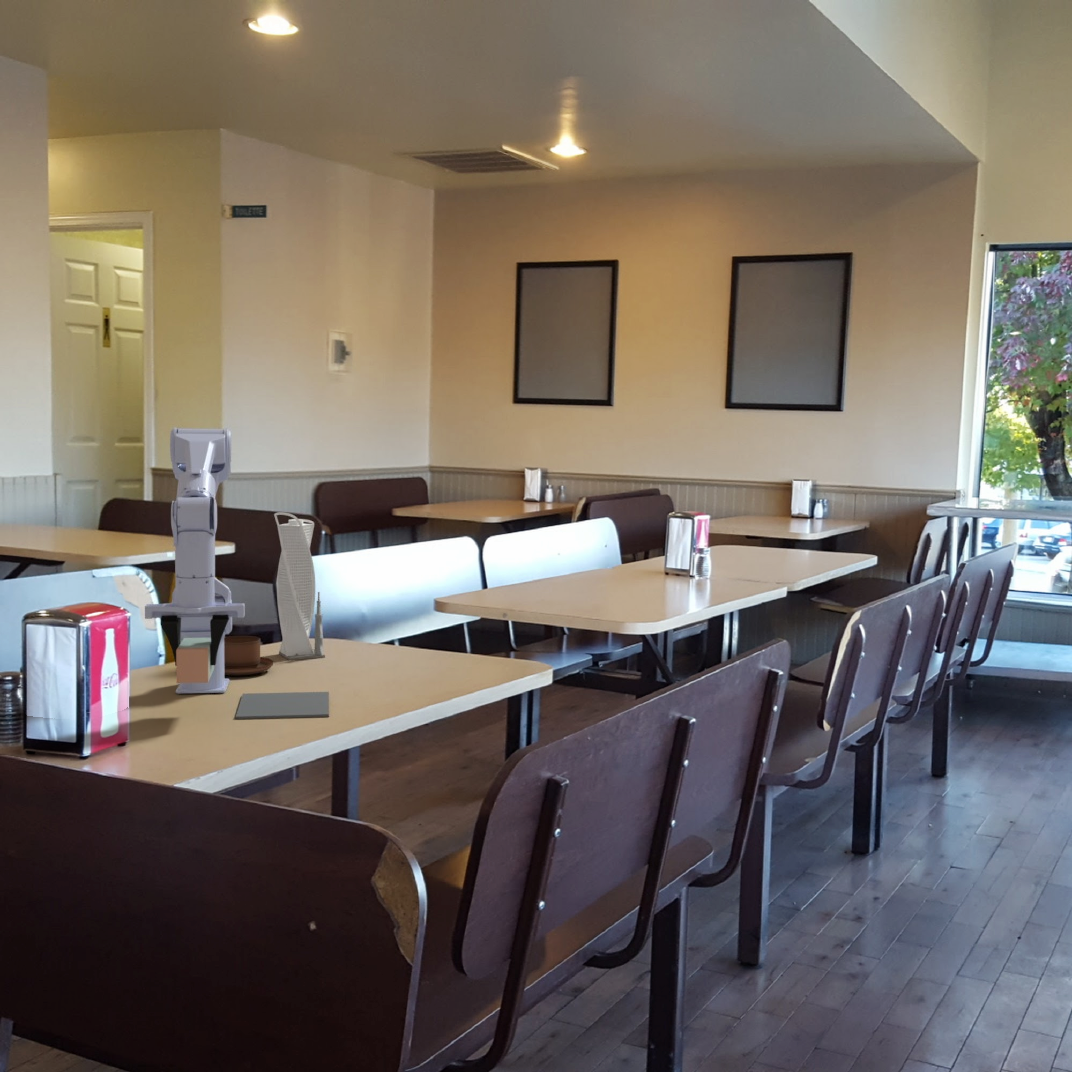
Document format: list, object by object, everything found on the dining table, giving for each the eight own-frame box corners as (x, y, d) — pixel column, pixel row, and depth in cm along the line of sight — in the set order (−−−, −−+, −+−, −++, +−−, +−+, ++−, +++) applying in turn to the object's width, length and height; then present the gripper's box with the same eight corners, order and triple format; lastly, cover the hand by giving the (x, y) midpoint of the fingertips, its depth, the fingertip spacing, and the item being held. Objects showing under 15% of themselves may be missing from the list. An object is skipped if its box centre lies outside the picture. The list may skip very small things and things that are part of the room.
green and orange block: (184, 669, 191) (184, 638, 190) (214, 669, 192) (213, 637, 191) (176, 683, 181) (176, 649, 181) (207, 682, 182) (207, 649, 181)
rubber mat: (242, 695, 202) (242, 693, 202) (328, 694, 204) (328, 691, 204) (235, 719, 186) (235, 716, 186) (328, 716, 188) (328, 714, 188)
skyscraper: (282, 660, 232) (281, 513, 229) (269, 653, 239) (269, 510, 236) (324, 657, 236) (324, 512, 233) (311, 650, 243) (311, 509, 240)
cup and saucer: (192, 677, 217) (192, 642, 216) (227, 664, 228) (226, 632, 228) (253, 681, 214) (253, 647, 213) (285, 668, 225) (285, 635, 225)
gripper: (141, 579, 180) (142, 670, 181) (242, 579, 182) (242, 668, 184) (148, 573, 187) (149, 661, 188) (245, 573, 189) (245, 659, 190)
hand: (195, 664), depth 186 cm, fingers closed on green and orange block, 4 cm apart
